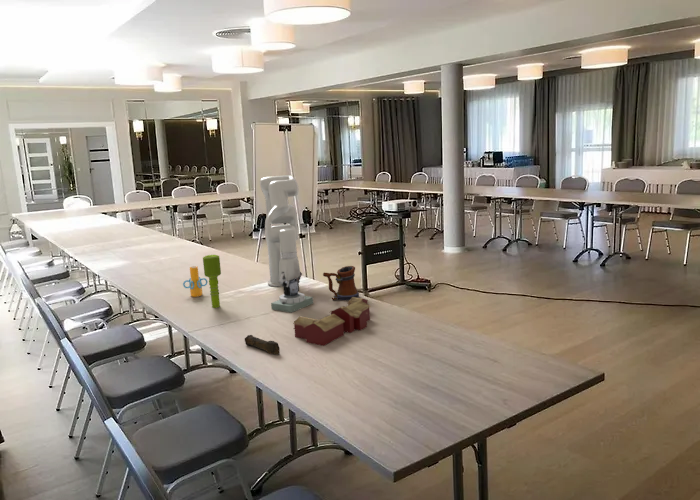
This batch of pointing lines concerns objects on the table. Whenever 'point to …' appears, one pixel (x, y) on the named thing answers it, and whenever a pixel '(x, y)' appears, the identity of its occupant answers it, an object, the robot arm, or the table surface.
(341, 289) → the mug
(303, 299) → the block
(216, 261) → the microphone
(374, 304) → the table surface
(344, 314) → the toy houses
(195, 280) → the cylinder
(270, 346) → the brown elongated bar
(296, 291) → the hub
